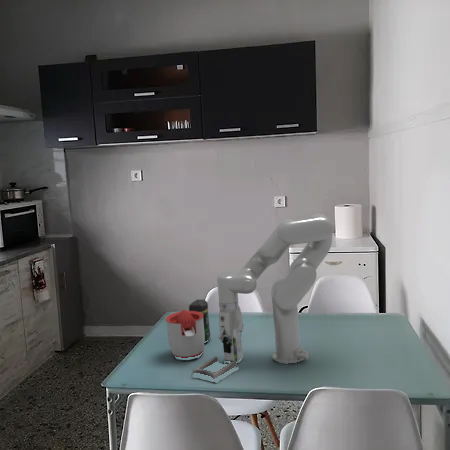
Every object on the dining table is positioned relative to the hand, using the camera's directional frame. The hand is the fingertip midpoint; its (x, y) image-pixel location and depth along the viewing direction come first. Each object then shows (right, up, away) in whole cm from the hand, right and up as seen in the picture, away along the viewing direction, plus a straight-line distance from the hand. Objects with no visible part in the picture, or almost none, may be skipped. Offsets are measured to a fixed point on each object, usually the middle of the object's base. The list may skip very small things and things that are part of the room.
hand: (232, 349), depth 202 cm
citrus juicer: (-18, -6, +9) cm, 21 cm away
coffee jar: (-13, -3, +26) cm, 29 cm away
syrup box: (+1, -5, +1) cm, 5 cm away
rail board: (-7, -7, -9) cm, 13 cm away
